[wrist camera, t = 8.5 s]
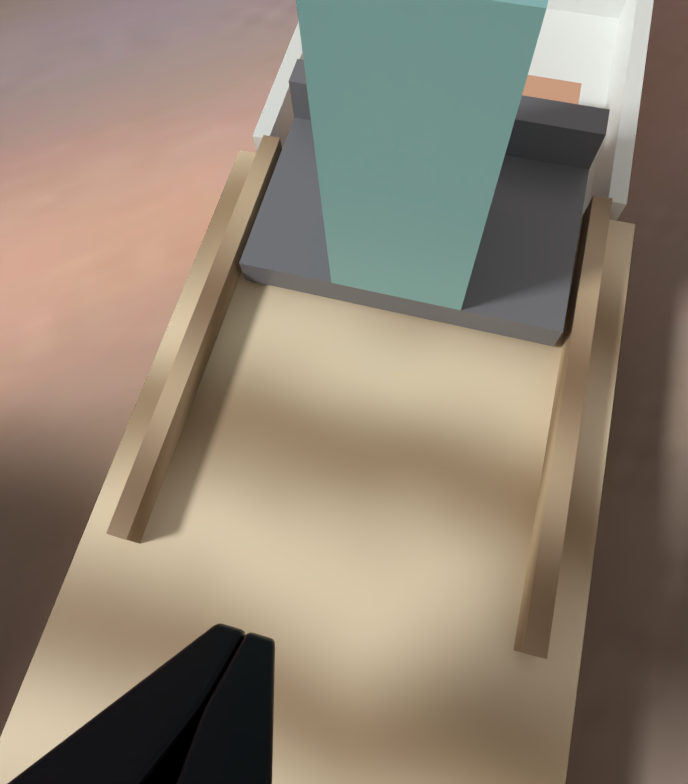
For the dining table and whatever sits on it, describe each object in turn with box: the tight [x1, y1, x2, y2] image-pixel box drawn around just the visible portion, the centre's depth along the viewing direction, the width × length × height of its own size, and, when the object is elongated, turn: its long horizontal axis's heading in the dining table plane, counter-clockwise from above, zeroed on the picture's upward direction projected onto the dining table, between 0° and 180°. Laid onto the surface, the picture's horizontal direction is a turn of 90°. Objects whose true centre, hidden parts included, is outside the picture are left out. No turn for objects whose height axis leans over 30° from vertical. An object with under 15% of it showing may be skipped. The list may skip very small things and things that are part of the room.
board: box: [0, 135, 635, 784], centre depth 18 cm, size 21×14×4 cm, turn 165°
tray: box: [253, 0, 654, 221], centre depth 24 cm, size 12×13×4 cm
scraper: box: [239, 0, 610, 346], centre depth 15 cm, size 7×10×10 cm
